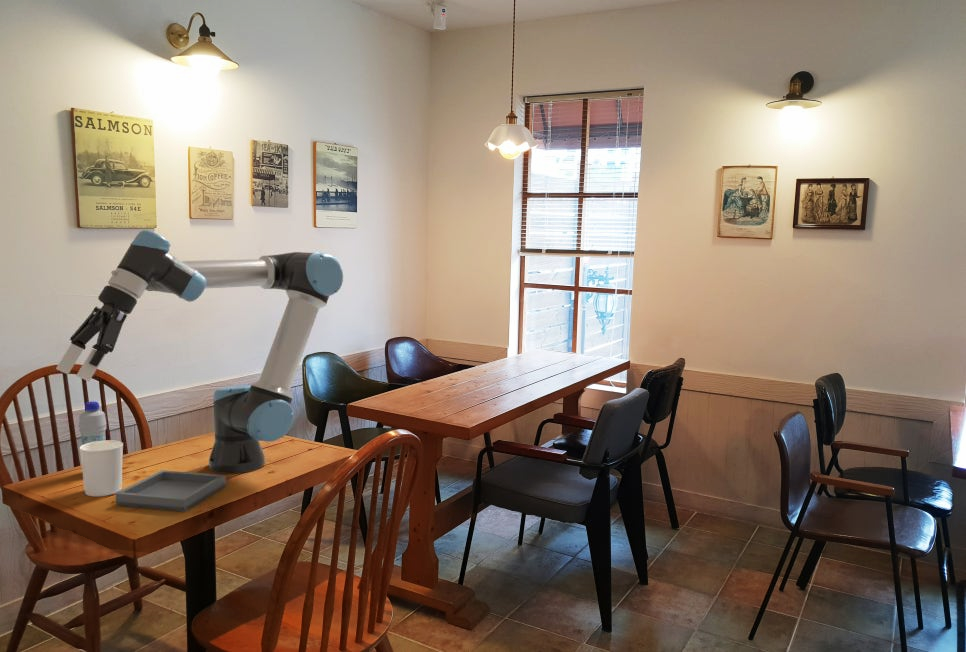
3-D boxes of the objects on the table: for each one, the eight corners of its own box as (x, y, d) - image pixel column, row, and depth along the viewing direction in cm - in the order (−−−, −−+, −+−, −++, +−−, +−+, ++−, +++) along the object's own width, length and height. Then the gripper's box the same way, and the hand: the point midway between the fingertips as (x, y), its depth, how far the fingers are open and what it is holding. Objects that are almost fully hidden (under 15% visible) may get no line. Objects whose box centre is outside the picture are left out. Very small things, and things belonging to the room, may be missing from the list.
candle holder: (133, 486, 190) (131, 441, 189) (106, 499, 180) (104, 452, 179) (100, 483, 192) (98, 438, 191) (72, 495, 182) (70, 449, 181)
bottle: (113, 469, 204) (110, 399, 201) (101, 477, 197) (98, 404, 195) (88, 469, 203) (85, 398, 201) (76, 476, 197) (72, 404, 194)
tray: (162, 481, 194) (162, 470, 194) (225, 486, 191) (225, 475, 191) (115, 505, 176) (115, 493, 176) (184, 511, 173) (184, 499, 173)
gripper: (88, 282, 174) (38, 361, 167) (129, 285, 156) (75, 374, 150) (116, 298, 178) (69, 375, 172) (159, 302, 161) (108, 389, 155)
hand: (71, 375), depth 161 cm, fingers open, 13 cm apart
